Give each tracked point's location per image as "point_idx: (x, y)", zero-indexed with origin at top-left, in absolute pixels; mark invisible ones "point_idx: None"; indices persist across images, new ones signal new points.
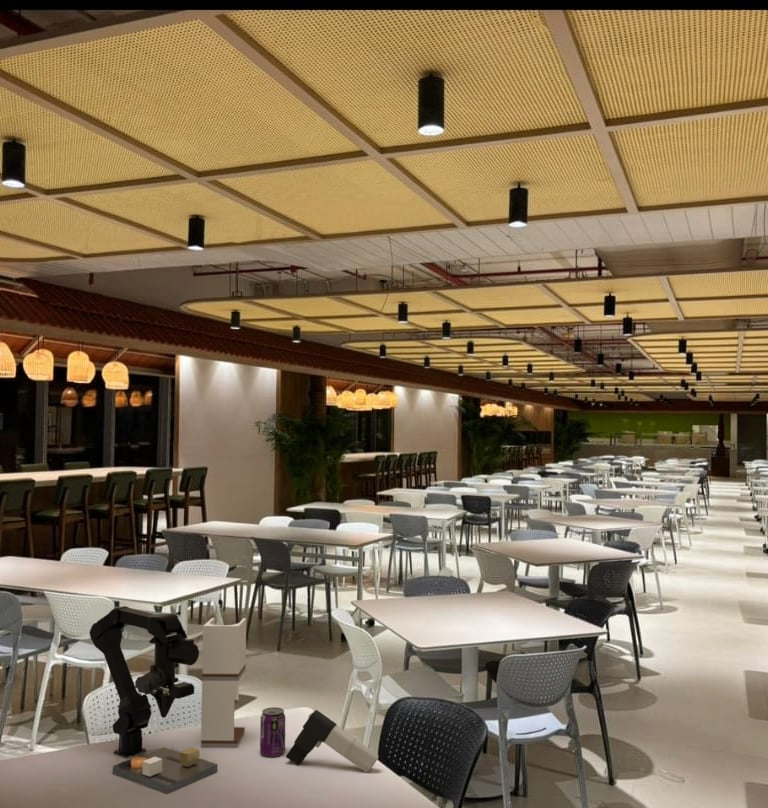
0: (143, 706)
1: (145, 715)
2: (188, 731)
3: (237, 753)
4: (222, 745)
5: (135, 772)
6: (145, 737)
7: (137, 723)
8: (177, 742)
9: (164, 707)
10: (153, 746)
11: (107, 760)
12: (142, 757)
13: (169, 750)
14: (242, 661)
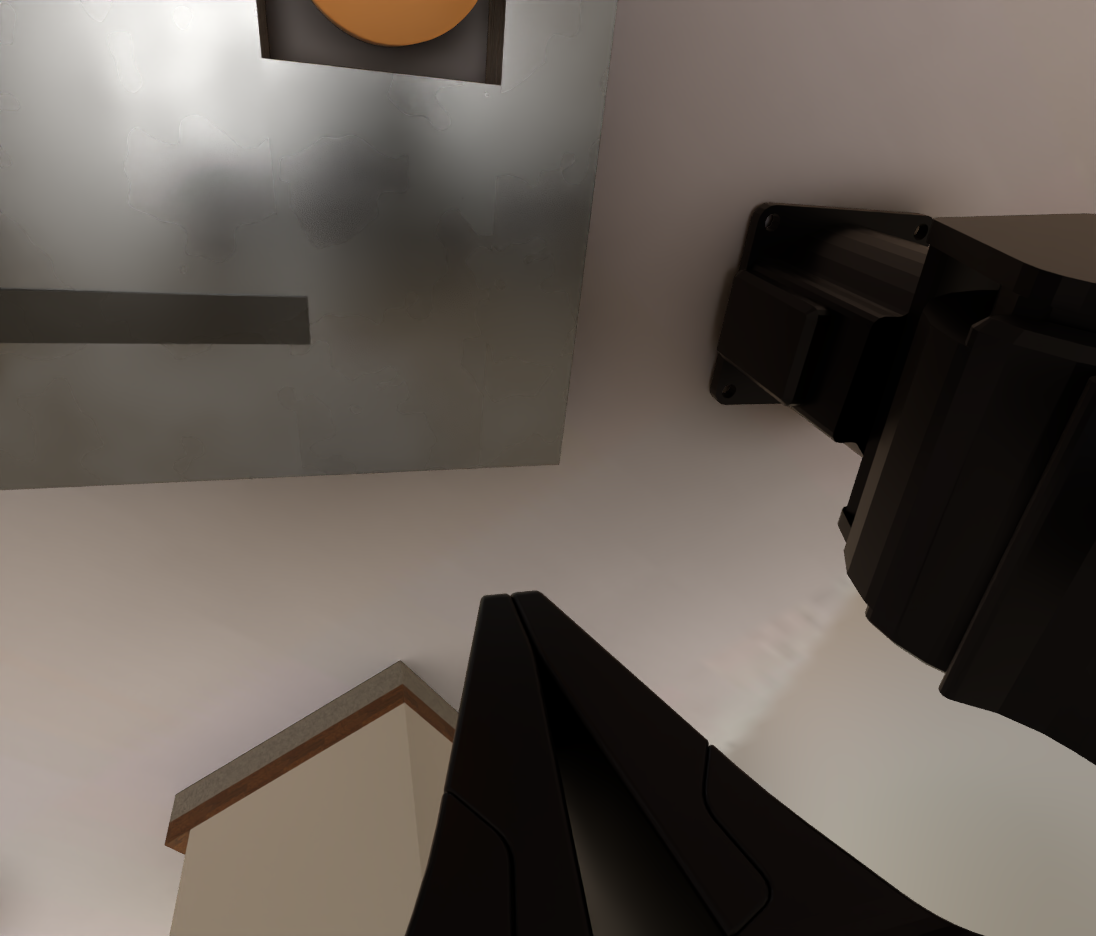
0: (1053, 618)
1: (909, 543)
2: None
3: (61, 758)
4: (264, 754)
5: None
6: None
7: (907, 383)
8: (615, 614)
9: (447, 788)
10: (718, 483)
11: (893, 47)
12: (415, 19)
13: (445, 445)
14: None
